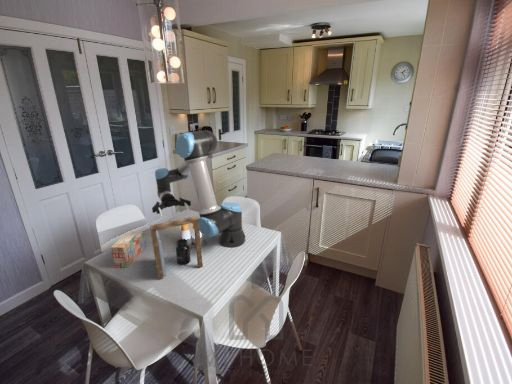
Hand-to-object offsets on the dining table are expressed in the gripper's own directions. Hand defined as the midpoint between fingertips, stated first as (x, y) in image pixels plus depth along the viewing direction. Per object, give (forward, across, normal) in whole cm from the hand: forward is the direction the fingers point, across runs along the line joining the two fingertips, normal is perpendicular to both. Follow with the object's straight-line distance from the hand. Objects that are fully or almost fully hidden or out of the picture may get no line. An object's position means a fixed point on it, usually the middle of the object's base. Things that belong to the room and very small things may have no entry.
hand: (175, 211), depth 139 cm
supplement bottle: (+10, 0, -24) cm, 26 cm away
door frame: (+18, +4, -24) cm, 30 cm away
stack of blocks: (-9, +24, -24) cm, 35 cm away
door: (+10, +12, -24) cm, 28 cm away
